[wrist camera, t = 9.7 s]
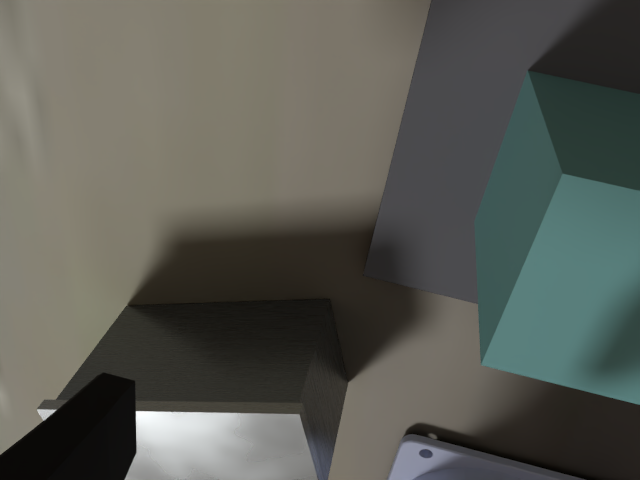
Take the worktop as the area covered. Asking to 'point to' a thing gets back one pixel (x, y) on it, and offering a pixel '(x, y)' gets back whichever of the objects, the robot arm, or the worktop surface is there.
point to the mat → (481, 121)
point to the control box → (226, 388)
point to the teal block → (564, 240)
